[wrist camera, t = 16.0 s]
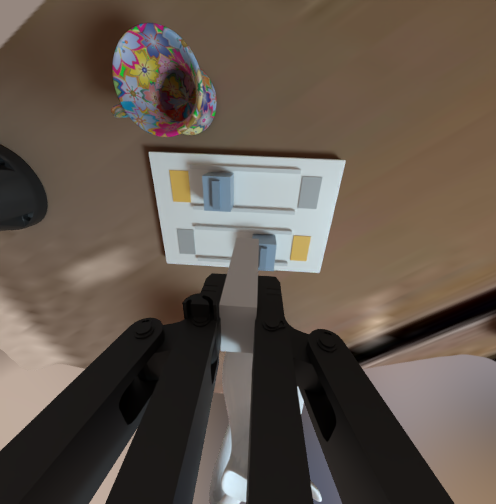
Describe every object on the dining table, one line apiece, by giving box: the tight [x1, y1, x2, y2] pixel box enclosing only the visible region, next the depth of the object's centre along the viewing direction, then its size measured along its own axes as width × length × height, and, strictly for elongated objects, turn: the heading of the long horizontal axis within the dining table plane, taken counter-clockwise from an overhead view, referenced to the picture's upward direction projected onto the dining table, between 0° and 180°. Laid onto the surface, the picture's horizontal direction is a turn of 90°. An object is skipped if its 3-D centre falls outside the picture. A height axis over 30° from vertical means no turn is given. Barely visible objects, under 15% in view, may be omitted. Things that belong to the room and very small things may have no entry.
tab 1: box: [202, 172, 234, 212], centre depth 32 cm, size 4×5×5 cm
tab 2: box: [252, 234, 277, 271], centre depth 37 cm, size 4×5×5 cm
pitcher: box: [209, 351, 322, 504], centre depth 41 cm, size 24×17×28 cm
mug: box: [111, 23, 216, 137], centre depth 27 cm, size 12×9×11 cm
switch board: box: [149, 151, 346, 273], centre depth 37 cm, size 30×20×3 cm, turn 88°
